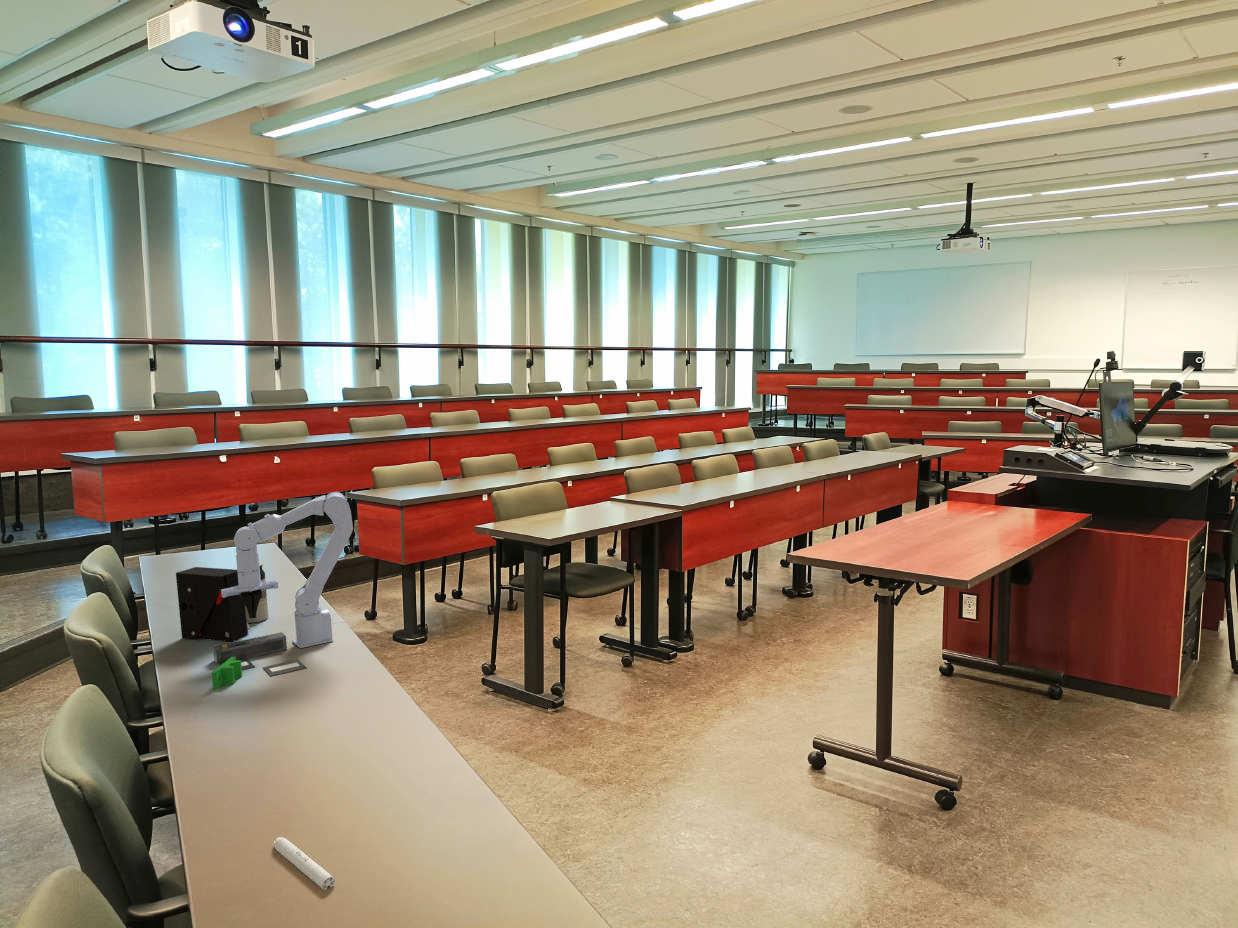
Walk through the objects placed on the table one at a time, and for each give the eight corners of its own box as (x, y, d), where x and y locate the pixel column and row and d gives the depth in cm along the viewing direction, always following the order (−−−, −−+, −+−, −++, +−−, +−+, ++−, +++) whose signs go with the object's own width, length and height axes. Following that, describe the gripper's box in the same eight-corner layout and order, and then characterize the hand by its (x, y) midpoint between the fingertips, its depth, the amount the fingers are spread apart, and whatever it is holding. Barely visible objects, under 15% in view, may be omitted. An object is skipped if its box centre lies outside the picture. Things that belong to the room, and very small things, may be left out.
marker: (269, 848, 137) (268, 834, 137) (282, 842, 138) (281, 829, 138) (322, 893, 125) (321, 878, 124) (335, 886, 126) (334, 872, 126)
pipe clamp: (228, 689, 206) (226, 671, 206) (213, 690, 206) (211, 672, 206) (247, 672, 217) (245, 655, 217) (232, 673, 217) (231, 656, 217)
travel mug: (235, 622, 262) (230, 566, 260) (255, 614, 269) (250, 560, 267) (254, 624, 259) (250, 567, 257) (274, 617, 266) (269, 561, 264)
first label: (247, 659, 227) (247, 658, 227) (255, 667, 221) (254, 666, 221) (220, 665, 223) (220, 664, 223) (226, 673, 217) (226, 672, 217)
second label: (297, 659, 225) (297, 658, 225) (306, 668, 219) (306, 666, 219) (262, 667, 220) (262, 666, 220) (270, 676, 214) (270, 675, 214)
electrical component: (253, 633, 250) (247, 568, 248) (227, 644, 241) (221, 576, 238) (207, 628, 256) (201, 565, 253) (180, 639, 246) (173, 573, 244)
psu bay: (282, 645, 238) (281, 630, 237) (287, 649, 234) (286, 634, 233) (214, 660, 227) (212, 644, 226) (217, 664, 223) (216, 649, 223)
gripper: (223, 577, 225) (227, 626, 226) (279, 568, 233) (283, 615, 235) (218, 572, 230) (222, 620, 232) (273, 563, 239) (276, 609, 240)
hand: (252, 617), depth 234 cm, fingers closed
